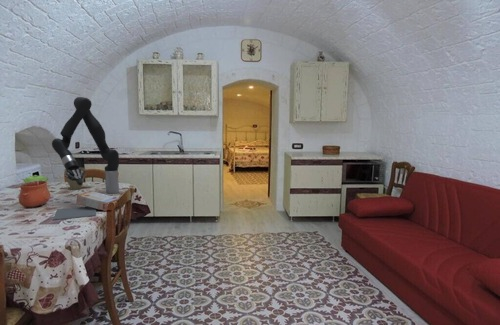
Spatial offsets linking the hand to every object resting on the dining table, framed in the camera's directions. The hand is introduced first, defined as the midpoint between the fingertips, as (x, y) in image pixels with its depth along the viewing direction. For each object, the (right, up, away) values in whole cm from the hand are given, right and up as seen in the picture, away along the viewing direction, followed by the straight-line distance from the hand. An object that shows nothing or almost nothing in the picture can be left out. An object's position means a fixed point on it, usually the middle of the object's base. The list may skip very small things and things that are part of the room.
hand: (80, 184), depth 208 cm
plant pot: (-32, -7, +54) cm, 63 cm away
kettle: (-62, -7, +51) cm, 80 cm away
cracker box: (+1, -8, +2) cm, 9 cm away
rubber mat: (+2, -17, -10) cm, 20 cm away
